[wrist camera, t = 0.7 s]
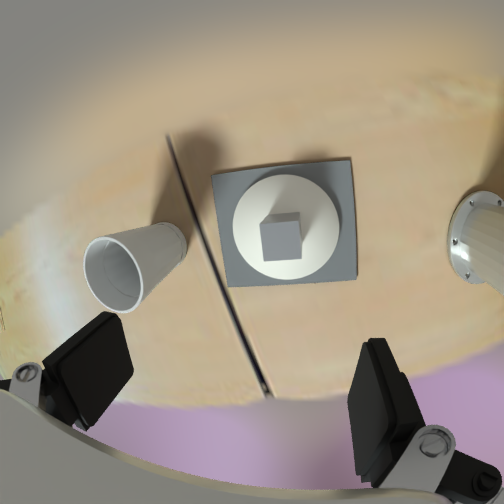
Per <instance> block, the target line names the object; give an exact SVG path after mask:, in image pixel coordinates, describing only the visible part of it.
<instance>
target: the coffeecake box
mask: <svg viewBox="0 0 504 504" xmlns="http://www.w3.org/2000/svg"><path fill="white" fill-rule="evenodd" d="M3 331H5V328H4V324H3V320H2V315H1V310H0V333H1V332H3Z"/></svg>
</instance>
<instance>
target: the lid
mask: <svg viewBox="0 0 504 504" xmlns="http://www.w3.org/2000/svg"><path fill="white" fill-rule="evenodd" d="M233 235H234V240H235V243H236V246H237V248H238V250H239V252H240V254H241V255H242V257H243V258H244V259H245V260H246V262H247V263H248V264H249V265H250V266H252V267H253V268H254V269H255V270H257V271H258V272H260V273H262V274H264V275H266V276H269V277H272V278H276V279H283V280H291V279H298V278H302V277H305V276H307V275H310V274H312V273H314V272H315V271H317V270H318V269H319V268H321V267H322V266H323V265H324V264H325V263H326V262H327V261H328V259H329V258H330V257H331V255H332V253H333V252H334V250H335V247H336V245H337V241H338V236H339V220H338V215H337V211H336V209H335V206H334V204H333V202H332V201H331V199H330V198H329V196H328V195H327V194H326V192H325V191H323V190H322V189H321V188H320V187H319V186H318V185H316V184H315V183H313V182H312V181H310V180H308V179H305V178H303V177H300V176H295V175H287V174H286V175H275V176H271V177H267V178H265V179H263V180H260V181H259V182H257V183H255V184H254V185H253V186H251V187H250V188H249V189H248V190H247V191H246V192H245V193H244V195H243V196H242V197H241V199H240V200H239V202H238V205H237V207H236V210H235V213H234V217H233Z"/></svg>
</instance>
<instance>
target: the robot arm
mask: <svg viewBox="0 0 504 504" xmlns="http://www.w3.org/2000/svg"><path fill="white" fill-rule="evenodd" d="M447 247H448V255H449V260H450V263H451V265H452V268H453V269H454V271H455V272H456V274H457V275H458V276H459V277H460V278H462V279H463V280H464V281H466V282H468V283H471V284H481V283H484V282H486V283H488V284H489V285H490V286H492V287H493V288H494V289H496V290H497V291H498V292H499V293H501V294H502V295H503V296H504V201H503V200H502V198H500V197H499V196H498V195H497V194H495V193H493V192H489V191H476V192H473V193H471V194H470V195H468V196H467V197H466V198H465V199H463V200H462V202H461V203H460V204H459V206H458V207H457V209H456V211H455V213H454V214H453V217H452V220H451V223H450V226H449V231H448V240H447ZM42 363H43V365H44V367H45V369H44V370H42V368H41V366H40V365H39V364H37V363H34V362H28V363H24V364H22V365H20V366H19V367H17V368H16V370H15V371H14V373H13V376H12V379H7V380H0V504H504V488H503V487H502V486H501V484H502V476H501V474H500V472H499V470H498V469H497V468H495V467H494V466H492V465H490V464H487V463H485V462H482V461H480V460H477V459H475V458H473V457H471V456H468V455H465V454H464V453H462V452H459V451H457V450H455V446H456V442H455V438H454V436H453V434H452V433H451V432H450V431H449V430H448V429H447V428H445V427H443V426H439V425H428V426H426V425H425V422H424V419H423V417H422V414H421V411H420V409H419V406H418V404H417V401H416V399H415V396H414V394H413V391H412V389H411V386H410V384H409V382H408V379H407V377H406V375H405V374H404V373H403V372H400V371H399V368H398V366H397V364H396V361H395V359H394V357H393V355H392V352H391V350H390V348H389V346H388V343H387V341H386V339H385V338H370V339H369V340H368V342H364V343H363V345H362V349H361V352H360V356H359V360H358V364H357V367H356V371H355V374H354V378H353V381H352V385H351V388H350V391H349V394H348V402H347V403H348V410H349V418H350V424H351V433H352V441H353V450H354V460H355V471H356V475H361V482H362V483H363V482H371V486H372V487H373V488H364V489H340V490H296V489H279V488H266V487H256V486H249V485H242V484H234V483H229V482H223V481H218V480H213V479H208V478H203V477H200V476H195V475H191V474H187V473H184V472H180V471H176V470H173V469H169V468H166V467H163V466H160V465H156V464H154V463H151V462H148V461H145V460H142V459H139V458H137V457H134V456H132V455H129V454H127V453H124V452H121V451H119V450H117V449H115V448H112V447H110V446H108V445H106V444H103V443H101V442H99V441H97V440H95V439H93V438H90V437H89V436H87V435H85V434H83V433H81V432H79V431H77V430H75V429H73V427H72V425H73V424H74V423H75V425H76V426H77V427H79V428H80V429H83V430H84V431H87V430H88V429H89V428H90V427H91V426H94V425H95V423H96V422H97V421H98V419H99V418H100V417H101V415H102V414H103V413H104V412H105V410H106V409H107V408H108V406H109V405H110V404H111V402H112V401H113V400H114V399H115V397H116V396H117V395H118V393H119V392H120V391H121V390H122V388H123V387H124V386H125V384H126V383H127V382H128V381H129V379H130V378H131V377H132V375H133V372H134V368H133V365H132V361H131V358H130V354H129V350H128V347H127V343H126V339H125V335H124V331H123V327H122V322H121V319H120V318H119V317H118V315H117V314H115V313H111V312H106V311H104V312H102V313H100V314H99V315H98V316H97V317H95V318H94V319H93V320H92V321H90V322H89V323H88V324H86V325H85V326H84V327H83V328H81V329H80V330H79V331H78V332H77V333H75V334H74V335H73V336H72V337H70V338H69V339H68V340H67V341H65V342H64V343H63V344H62V345H61V346H59V347H58V348H57V349H56V350H55V351H53V352H52V353H51V354H50V355H49V356H47V357H46V358H45V359H44V360H43V361H42Z"/></svg>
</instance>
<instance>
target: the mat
mask: <svg viewBox="0 0 504 504" xmlns="http://www.w3.org/2000/svg"><path fill="white" fill-rule="evenodd" d="M286 174H287V175H295V176H300V177H303V178H305V179H308V180H310V181H312V182H313V183H315V184H316V185H318V186H319V187H320V188H321V189H322V190H323V191H325V192H326V194H327V195H328V196H329V198H330V199H331V201H332V202H333V204H334V206H335V209H336V211H337V215H338V220H339V236H338V241H337V245H336V247H335V250H334V252H333V253H332V255H331V257H330V258H329V259H328V261H327V262H326V263H325V264H324V265H323V266H322V267H321V268H319V269H318V270H317V271H315V272H314V273H312V274H310V275H307V276H305V277H302V278H298V279H291V280H283V279H276V278H272V277H269V276H266V275H264V274H262V273H260V272H258V271H257V270H255V269H254V268H253V267H252V266H250V265H249V264H248V263H247V262H246V260H245V259H244V258H243V257H242V255H241V254H240V252H239V250H238V248H237V246H236V243H235V240H234V235H233V217H234V213H235V210H236V207H237V205H238V202H239V200H240V199H241V197H242V196H243V195H244V193H245V192H246V191H247V190H248V189H249V188H250V187H251V186H253V185H254V184H255V183H257V182H259V181H260V180H263V179H265V178H267V177H271V176H275V175H286ZM211 178H212V186H213V193H214V200H215V207H216V214H217V221H218V228H219V234H220V241H221V247H222V254H223V260H224V266H225V272H226V279H227V285H228V287H248V286H269V285H288V284H305V283H320V282H334V281H348V280H356V278H357V272H356V230H355V212H354V198H353V186H352V175H351V166H350V160H348V161H331V162H317V163H305V164H294V165H284V166H275V167H266V168H258V169H251V170H243V171H236V172H229V173H223V174H216V175H211Z"/></svg>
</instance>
